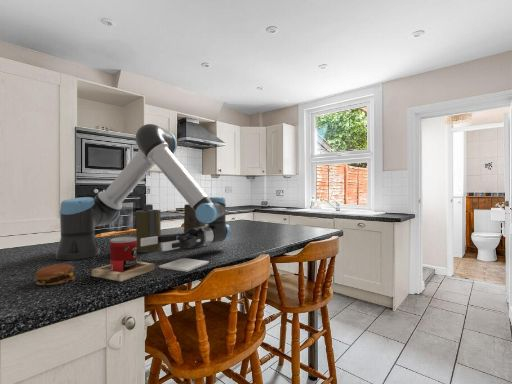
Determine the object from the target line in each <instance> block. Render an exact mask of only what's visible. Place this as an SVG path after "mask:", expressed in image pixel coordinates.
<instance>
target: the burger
mask: <svg viewBox="0 0 512 384" xmlns="http://www.w3.org/2000/svg"><path fill="white" fill-rule="evenodd" d="M74 271H75V267H74V266H73V265H71V264H64V263H63V264H54V265H48V266H44V267H41V268H39V269H38V270H36V272H35V275H34V276H35V277H34V278H35V279H36V283H35V284H36V285H37V286H56V285H60V284H64V283H69V281H74V280H75V279H76V278H75V276H74V273H73V272H74Z"/></svg>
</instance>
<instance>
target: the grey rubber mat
mask: <svg viewBox="0 0 512 384" xmlns="http://www.w3.org/2000/svg"><path fill="white" fill-rule="evenodd" d="M207 264H209V260H201V259H200V260H199V259H193V258H184V257H181V258H178V259H176V260H173V261H169V262H167V263H163V264H160V265H158V268H160V269H166V270H173V271H179V272H186V273H187V272H190V271H193V270H195V269H197V268H200V267H203V266H204V265H207Z"/></svg>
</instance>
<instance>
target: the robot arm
mask: <svg viewBox="0 0 512 384" xmlns="http://www.w3.org/2000/svg"><path fill="white" fill-rule="evenodd" d="M135 142H136V145H137V149H138V150H137V152H136V154H135V155H134V156H133V157H132V159H130V161H129V162H128V164H126V166H125V167H124V168H123V169H122V171H120V173H119V174H117V176H116V177H115V178H114V180H113V181H112V182H111V183H110V184H109V186H108V187H107V188H106V189H105V190H104V191H99V192H98V193H97V194H96V195H95V196H94V198H93V197H90V196H84V197H83V196H82V197H74V198H68V199H63V200H62V201H61V203H60V207H59V208H60V210H59V214H60V215H59V217H60V221H59V222H60V223H59V224H60V239H59V241H58V245H57V248H56V251H55V259H56V260H60V261H75V260H81V259H88V258H93V257H97V256H99V255H100V252H101V249H100V246H99V244H98V243H99V242H98V241H97V238H96V236H95V235H96V234H95V233H96V232H95V227H102V226H107V225H109V224H112V223H114V222H116V221H117V219H118V218H119V216H120V214H121V210H122V208H123V202H124V200H126V198H127V197H128V196H129V195H130V194H131V192H132V191H133V190H134V189H135V188H136V187H137V186H138V184H139V183H140V182H141V181H142V180H143V178H145V177H146V175H147V174H148V173H149V172H150V170H151V169H152V168H153V167H154V166H155V165H156V167H157V168H159V170H160V172H162V174H163V175H164V176H165V177H166V178H167V179H168V181H169V182H170V183H171V184H172V186H173V187H174V188H175V189H176V190H177V192H178V193H179V194H180V195H181V196H182V198H183V199H184V201H186V202H187V204H189V205H190V206H191V207H192V208H193V210H194V211H195V214H196V218H197V220H198V221H199V222H201V223H205V224H208V225H205V226H202V227H196V228H190V229H189V230H188V231H187V233H184V232H181V233H180V232H178V233H171V234H161V235H155V237H149V238H142V239H140V242H141V246H147V245H153V244H156V245H158V243H161V252H166V251H167V252H168V251H171V250H177V249H191V248H190V247H197V246H201V245H204V247H206V246H207V245H209V244H210V245H211V244H215V243H221V242H225V241H227V240H229V239H230V237H231V236H232V229H231V226H230V225H229V224H227V222H226V221H227V220H226V218H227V217H226V206H227V204H226V197H223V196H211V197H210V196H208V195H207V193H206V192H205V191H204V190H203V189H202V187H201V186H200V185H199V183H197V181H196V180H195V179H194V177H192V175H191V174H190V173H189V171H188V170H187V169H186V168H185V167H184V166H183V165H182V163H181V162H180V161H179V160H178V159H177V157H176V156H175V155H174V154H175V152H176V150H177V147H178V141H177V138H176V137H175V135H174V134H173V133H172V132H171V131H169V130H168V129H165V128H162V127H160V126H158V125H156V124H153V123H148V124H143V125H141V126H140V127H139V128H138V129H137V131H136V133H135ZM206 244H207V245H206ZM197 248H198V247H197Z"/></svg>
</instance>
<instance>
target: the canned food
mask: <svg viewBox="0 0 512 384" xmlns="http://www.w3.org/2000/svg"><path fill="white" fill-rule="evenodd" d="M109 242H110V243H109V257H110V259H109V261H110V263H109V265H110V267H111V271H115V272H121V273H122V272H125V271H128V270H131V269H135V268H137V261H138V252H137V236H120V237H113V238H111V239H110V241H109Z"/></svg>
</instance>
